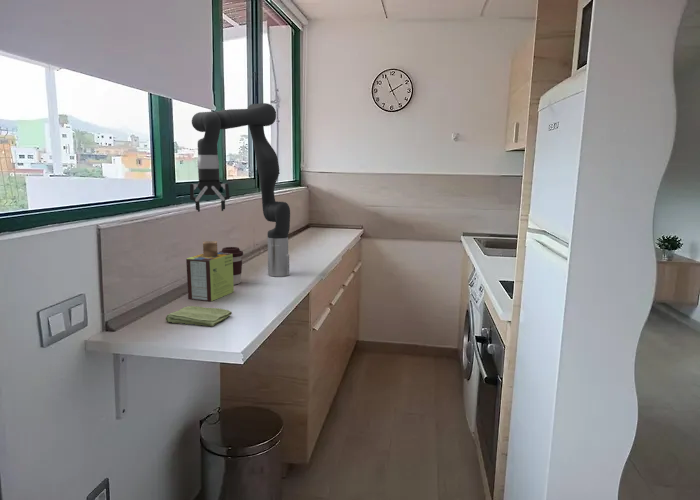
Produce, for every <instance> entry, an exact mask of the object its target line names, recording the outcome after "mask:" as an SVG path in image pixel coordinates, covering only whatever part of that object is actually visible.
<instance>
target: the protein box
mask: <svg viewBox="0 0 700 500" xmlns="http://www.w3.org/2000/svg"><path fill="white" fill-rule="evenodd" d="M219 252H220V251H217V253H218V255H217V256H213V257H204V256H203V253H201V254H197V255H195V256H190V257H187V258H185V260H186V261H185V262H186V263H185V264H186V280H187V281H186V282H187V299H188V300H193V299H194V301H203V302H213V301H215V300H218V299H221V298H222V297H225V296H227V295H230V294H232V293H234V292H235V291H234V288H235V287H234V285H233V254H232V253H219Z"/></svg>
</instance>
